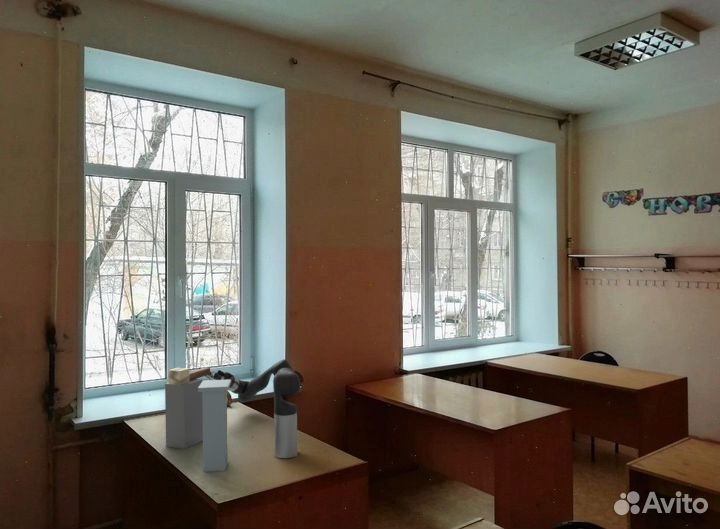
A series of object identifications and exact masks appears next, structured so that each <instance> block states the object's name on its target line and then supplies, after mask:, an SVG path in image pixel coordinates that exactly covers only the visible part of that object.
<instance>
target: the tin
mask: <svg viewBox="0 0 720 529" xmlns="http://www.w3.org/2000/svg"><path fill="white" fill-rule="evenodd" d="M232 402H233V398H232V394H231V392H230V391H229V390H228V391H227V407H229V406H231V405H232ZM228 405H229V406H228Z"/></svg>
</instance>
